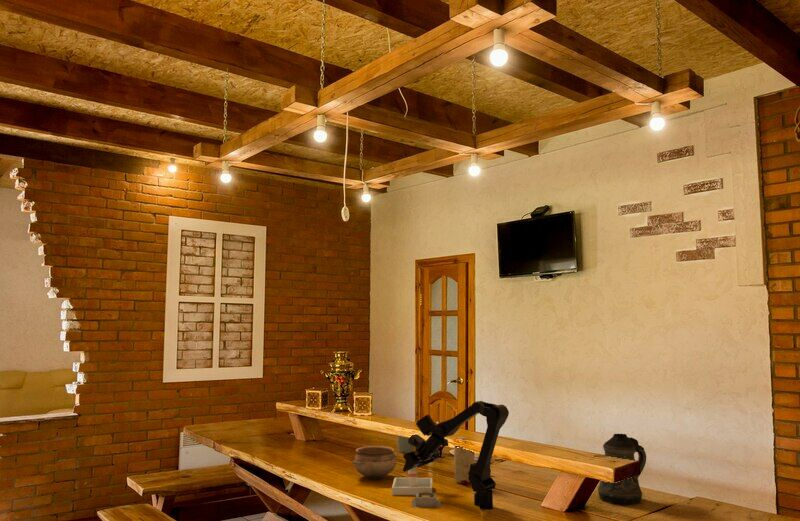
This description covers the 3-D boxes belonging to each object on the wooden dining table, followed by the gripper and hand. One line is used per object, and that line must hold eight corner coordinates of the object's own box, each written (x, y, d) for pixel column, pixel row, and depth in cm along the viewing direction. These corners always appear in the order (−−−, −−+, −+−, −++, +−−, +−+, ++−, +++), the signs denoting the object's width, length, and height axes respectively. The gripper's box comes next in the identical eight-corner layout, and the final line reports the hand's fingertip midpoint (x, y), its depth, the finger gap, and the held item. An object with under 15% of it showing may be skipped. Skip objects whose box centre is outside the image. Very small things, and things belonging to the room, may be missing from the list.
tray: (432, 487, 264) (432, 477, 265) (431, 497, 248) (431, 488, 249) (394, 486, 265) (394, 477, 266) (391, 497, 249) (391, 487, 250)
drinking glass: (394, 450, 339) (394, 428, 340) (410, 448, 343) (410, 426, 344) (402, 454, 330) (402, 431, 331) (419, 452, 334) (419, 429, 335)
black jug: (590, 499, 245) (588, 434, 248) (613, 490, 259) (611, 428, 261) (630, 508, 234) (628, 440, 236) (653, 498, 247) (650, 433, 250)
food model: (451, 483, 270) (450, 436, 272) (458, 480, 276) (458, 434, 278) (471, 486, 265) (470, 438, 267) (478, 483, 270) (477, 436, 272)
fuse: (419, 489, 257) (419, 458, 258) (413, 491, 254) (413, 460, 255) (411, 488, 260) (411, 457, 261) (405, 490, 256) (405, 459, 258)
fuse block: (440, 502, 242) (440, 490, 242) (440, 510, 232) (440, 497, 233) (412, 501, 243) (412, 489, 243) (411, 509, 233) (411, 496, 233)
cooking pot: (365, 486, 266) (365, 457, 267) (340, 478, 280) (340, 450, 281) (409, 477, 281) (409, 449, 283) (383, 469, 296) (383, 443, 297)
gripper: (433, 425, 264) (412, 449, 270) (406, 432, 249) (385, 456, 255) (449, 447, 258) (427, 470, 264) (422, 454, 244) (400, 479, 249)
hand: (410, 468), depth 258 cm, fingers open, 9 cm apart
